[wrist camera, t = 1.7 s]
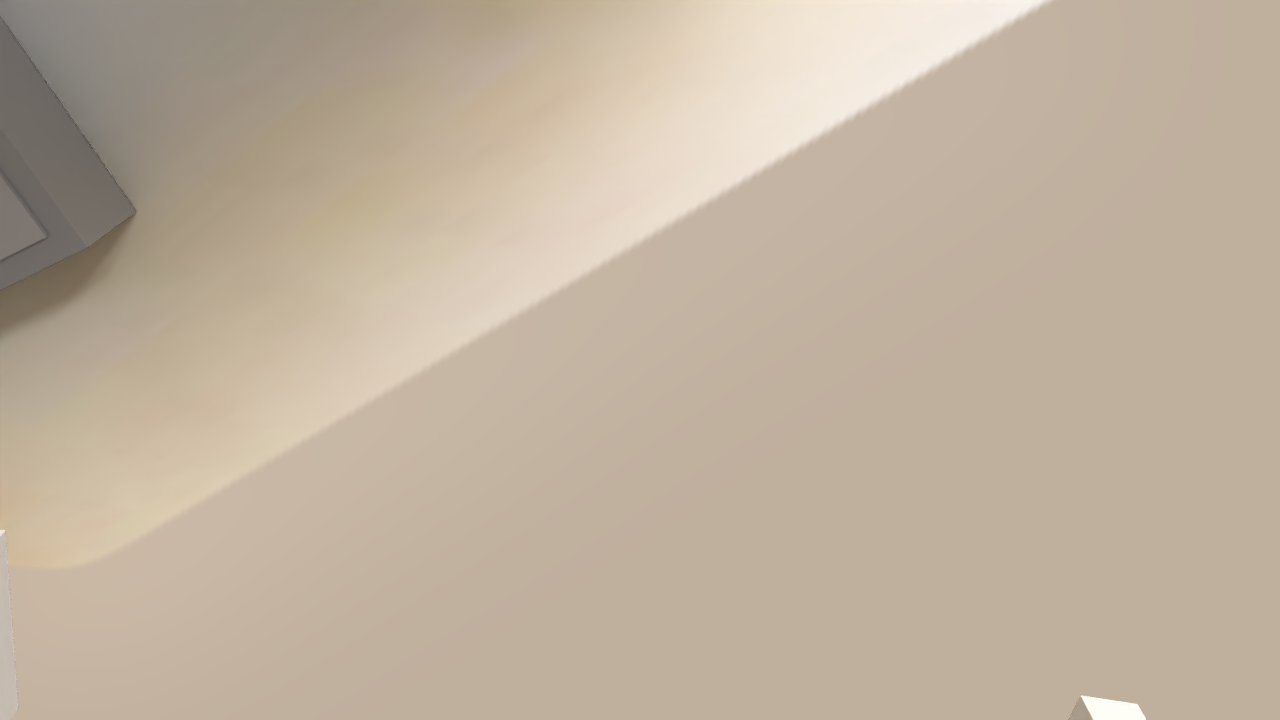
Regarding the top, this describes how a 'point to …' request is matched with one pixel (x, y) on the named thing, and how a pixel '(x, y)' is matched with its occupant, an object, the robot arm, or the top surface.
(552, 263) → the top surface
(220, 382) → the top surface
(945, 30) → the top surface
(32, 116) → the grey square block
